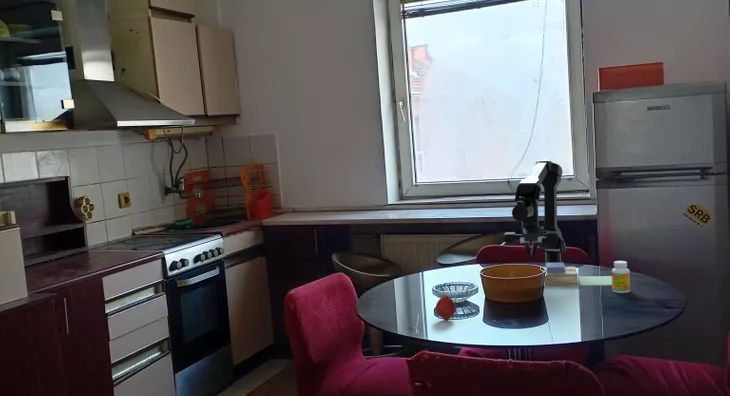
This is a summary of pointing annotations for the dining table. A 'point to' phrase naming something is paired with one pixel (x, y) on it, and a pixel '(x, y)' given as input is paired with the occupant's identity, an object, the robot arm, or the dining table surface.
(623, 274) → the supplement bottle
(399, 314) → the dining table surface
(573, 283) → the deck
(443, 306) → the onion
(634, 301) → the dining table surface
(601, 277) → the mat
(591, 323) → the dining table surface
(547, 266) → the periwinkle blue block
